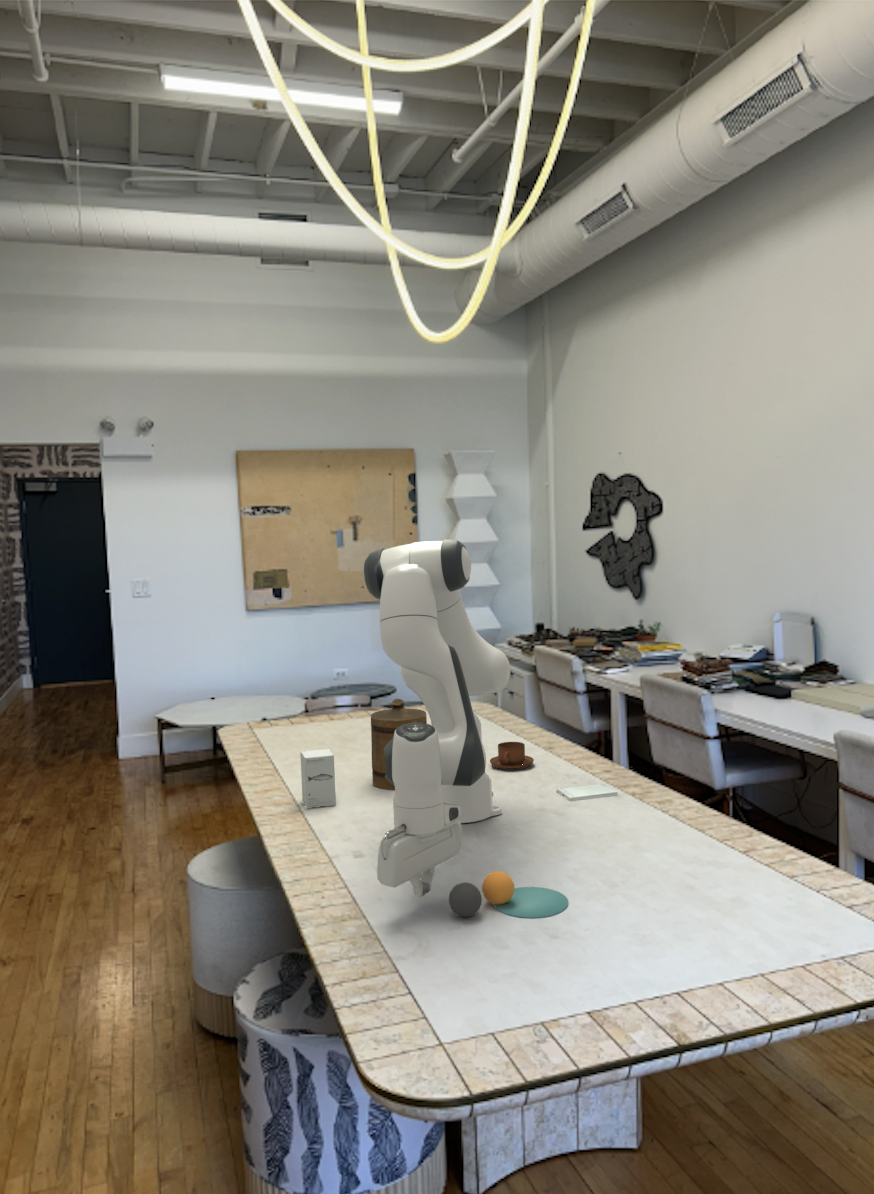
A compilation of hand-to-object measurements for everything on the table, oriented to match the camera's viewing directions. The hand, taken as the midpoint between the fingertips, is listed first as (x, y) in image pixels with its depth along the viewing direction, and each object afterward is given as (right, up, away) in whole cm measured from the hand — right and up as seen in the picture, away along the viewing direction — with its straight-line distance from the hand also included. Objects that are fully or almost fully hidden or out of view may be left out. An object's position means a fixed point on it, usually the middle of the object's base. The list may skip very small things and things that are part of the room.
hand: (422, 894), depth 163 cm
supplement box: (-26, +2, +62) cm, 68 cm away
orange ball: (+13, +2, -2) cm, 13 cm away
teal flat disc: (+19, -1, -1) cm, 19 cm away
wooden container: (-7, +4, +79) cm, 79 cm away
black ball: (+7, +1, -6) cm, 10 cm away
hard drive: (+39, +4, +62) cm, 73 cm away
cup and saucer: (+23, +6, +90) cm, 93 cm away
